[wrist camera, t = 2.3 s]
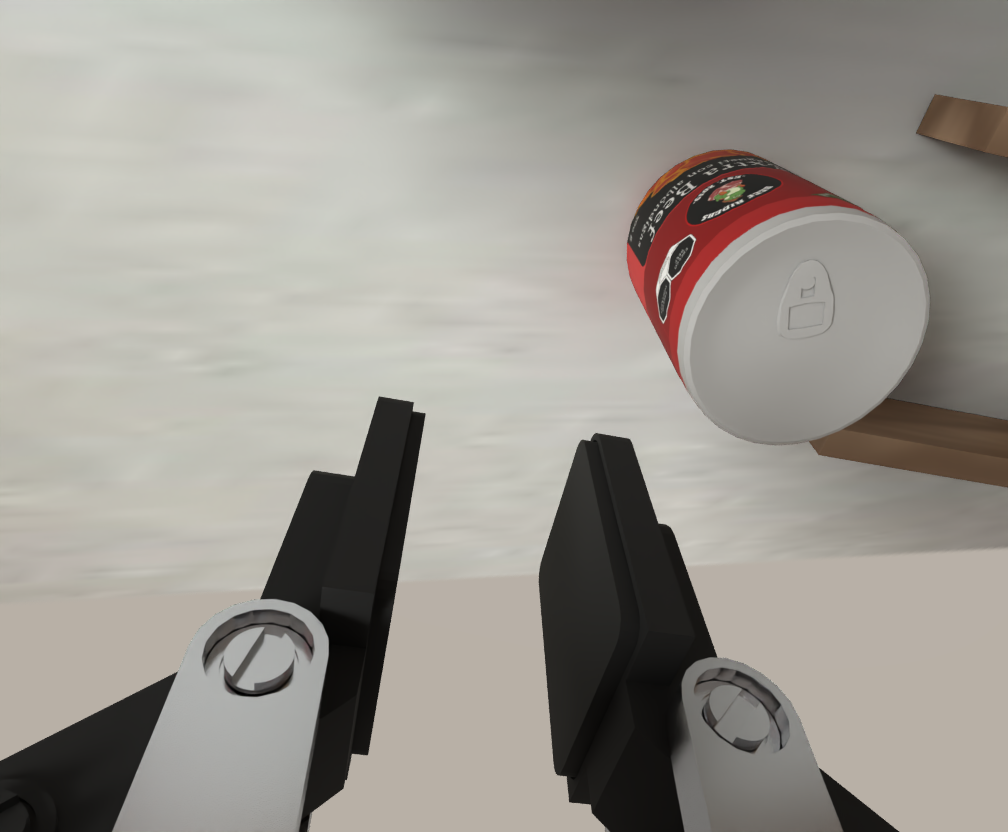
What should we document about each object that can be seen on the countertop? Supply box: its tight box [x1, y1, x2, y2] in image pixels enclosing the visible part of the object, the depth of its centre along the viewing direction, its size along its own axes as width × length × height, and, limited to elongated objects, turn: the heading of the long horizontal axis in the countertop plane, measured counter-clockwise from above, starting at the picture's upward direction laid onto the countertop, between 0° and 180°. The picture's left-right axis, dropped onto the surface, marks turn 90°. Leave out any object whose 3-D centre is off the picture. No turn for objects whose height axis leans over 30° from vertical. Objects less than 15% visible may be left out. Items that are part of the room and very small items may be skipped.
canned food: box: [627, 150, 930, 445], centre depth 25 cm, size 8×8×11 cm
